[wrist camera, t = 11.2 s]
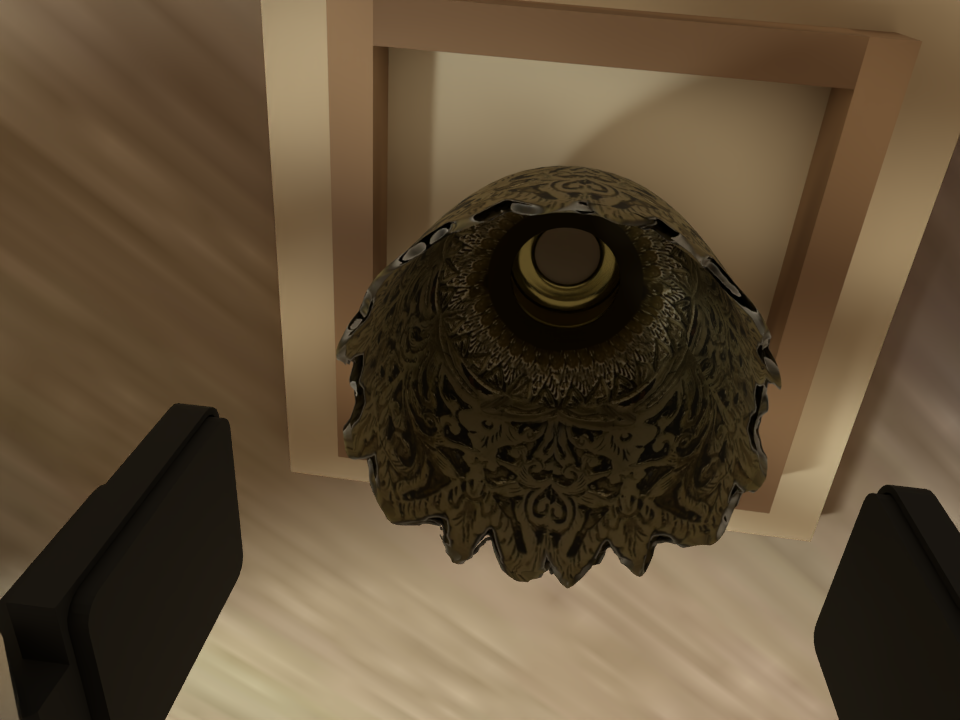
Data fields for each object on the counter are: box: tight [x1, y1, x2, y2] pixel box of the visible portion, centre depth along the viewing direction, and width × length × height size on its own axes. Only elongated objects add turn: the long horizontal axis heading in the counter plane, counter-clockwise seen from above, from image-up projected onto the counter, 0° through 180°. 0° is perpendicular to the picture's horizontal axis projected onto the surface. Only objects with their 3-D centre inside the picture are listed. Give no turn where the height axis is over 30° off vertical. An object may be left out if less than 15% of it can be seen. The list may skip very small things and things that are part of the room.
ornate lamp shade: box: [336, 166, 782, 588], centre depth 16 cm, size 8×7×8 cm
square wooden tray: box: [261, 0, 960, 542], centre depth 20 cm, size 16×16×2 cm
